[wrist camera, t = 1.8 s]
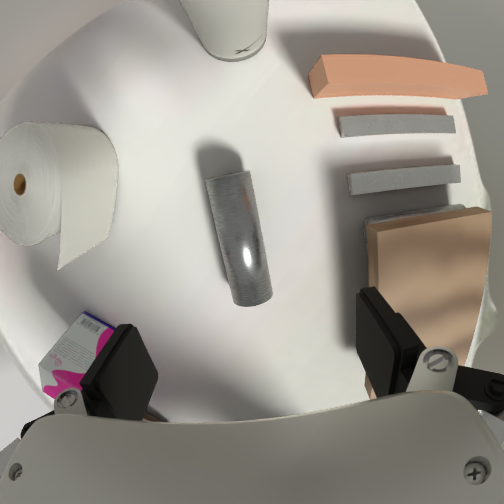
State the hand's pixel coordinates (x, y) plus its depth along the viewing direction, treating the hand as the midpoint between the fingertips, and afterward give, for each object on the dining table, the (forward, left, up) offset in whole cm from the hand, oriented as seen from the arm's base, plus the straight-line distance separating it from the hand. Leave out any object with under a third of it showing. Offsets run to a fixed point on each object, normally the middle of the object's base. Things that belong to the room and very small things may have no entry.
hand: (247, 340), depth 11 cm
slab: (-10, -17, -14) cm, 24 cm away
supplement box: (-10, +23, -18) cm, 31 cm away
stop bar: (+13, -17, -18) cm, 28 cm away
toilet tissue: (+10, +17, -18) cm, 27 cm away
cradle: (+6, -17, -18) cm, 25 cm away
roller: (0, 0, -18) cm, 18 cm away
